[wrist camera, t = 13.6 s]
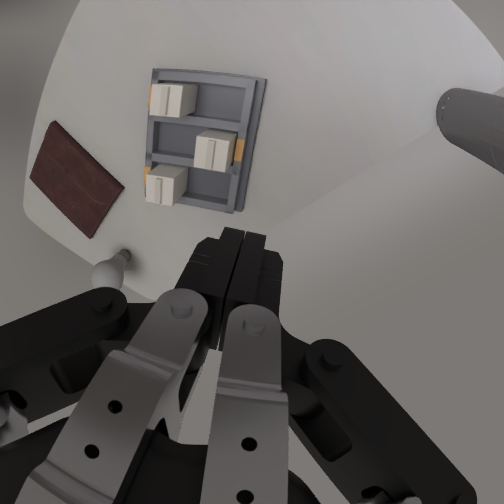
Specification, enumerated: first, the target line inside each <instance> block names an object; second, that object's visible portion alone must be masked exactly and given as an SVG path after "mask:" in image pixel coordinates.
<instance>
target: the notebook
mask: <svg viewBox="0 0 504 504" xmlns="http://www.w3.org/2000/svg"><path fill="white" fill-rule="evenodd" d="M30 179H31V180H32V181H33V182H34V184H35V185H36V186H37V187H38V188H39V189H40V190H41V191H42V192H43V193H44V194H45V195H46V196H47V197H48V198H49V200H50V201H51V202H52V203H53V204H54V205H55V206H56V207H57V208H58V209H59V210H60V211H61V212H62V213H63V214H64V215H65V216H66V217H67V218H68V219H69V220H70V221H71V222H72V223H73V224H74V225H75V226H76V227H77V228H78V229H79V230H81V231H82V232H83V233H84V234H85V235H86V236H87V237H88V238H89V239H91V238H92V237H93V234H94V233H95V231H96V229H97V228H98V226H99V224H100V223H101V221H102V220H103V218H104V216H105V215H106V213H107V212H108V210H109V209H110V207H111V206H112V204H113V203H114V201H115V200H116V198H117V197H118V195H119V194H120V192H121V191H122V189H124V188H125V187H124V186H123V185H122V184H120V183H119V182H118V181H117V180H116V179H115V178H114V177H113V176H112V175H111V174H110V173H109V172H108V171H107V170H106V169H105V168H104V167H102V166H101V165H100V164H99V163H98V162H97V161H96V160H95V159H94V158H93V157H92V156H91V155H90V154H89V153H88V152H87V151H86V150H85V149H84V148H83V147H82V146H81V145H80V144H79V143H78V142H77V141H76V140H75V139H74V138H73V137H72V136H71V135H70V134H69V133H68V132H67V131H66V130H65V129H64V128H63V127H62V126H61V125H60V124H59V123H58V122H57V121H53V122H51V123H50V125H49V127H48V129H47V131H46V134H45V137H44V140H43V143H42V145H41V148H40V150H39V153H38V155H37V158H36V161H35V163H34V166H33V169H32V172H31V175H30Z"/></svg>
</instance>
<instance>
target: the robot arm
mask: <svg viewBox="0 0 504 504" xmlns="http://www.w3.org/2000/svg"><path fill="white" fill-rule="evenodd" d="M437 121H438V125H439V128H440V131H441V132H442V134H443V135H444V137H445V138H446V139H447V140H448V141H449V142H451V143H452V144H454V145H456V146H458V147H460V148H461V149H463V150H465V151H467V152H468V153H470V154H472V155H473V156H475V157H477V158H479V159H480V160H482V161H484V162H485V163H487V164H488V165H490V166H492V167H493V168H495V169H496V170H498V171H499V172H501V173H503V174H504V97H500V96H497V95H492V94H488V93H483V92H478V91H473V90H467V89H461V88H454V89H450V90H449V91H447V92H446V93H445V94H443V96H442V97H441V99H440V101H439V103H438V107H437ZM244 235H245V231H243V230H238V229H234V228H229V227H225V228H224V230H223V232H222V234H221V236H220V239H214V238H210V237H207V238H206V239H204V240H202V241H201V242H199V243H198V244H197V246H196V248H195V250H194V252H193V254H192V255H191V257H190V259H189V262H188V263H187V265H186V267H185V269H184V270H183V272H182V274H181V276H180V278H179V280H178V282H177V284H176V286H175V288H174V289H172V290H169V291H167V292H165V293H163V294H162V295H161V296H160V297H159V298H158V300H157V301H156V302H153V303H127V300H126V297H125V295H124V294H123V293H122V292H121V291H119V290H118V289H115V288H112V287H99V288H95V289H92V290H90V291H87V292H85V293H82V294H80V295H77V296H74V297H72V298H69V299H67V300H64V301H62V302H59V303H57V304H54V305H52V306H49V307H47V308H44V309H42V310H39V311H37V312H34V313H32V314H29V315H27V316H24V317H22V318H19V319H17V320H15V321H12V322H10V323H7V324H5V325H2V326H0V504H321V503H320V502H319V501H318V500H317V498H316V497H315V495H314V494H313V493H312V491H311V490H310V489H309V487H308V486H307V485H306V484H305V483H304V482H303V481H302V480H301V479H300V478H299V477H298V476H297V475H295V474H294V473H293V472H291V471H290V470H288V425H289V426H290V427H291V429H292V430H293V431H294V433H295V434H296V435H297V437H298V438H299V440H300V441H301V442H302V444H303V445H304V446H305V447H306V449H307V450H308V451H309V453H310V454H311V455H312V457H313V458H314V459H315V461H316V462H317V463H318V464H319V466H320V467H321V468H322V470H323V471H324V472H325V473H326V475H327V476H328V477H329V478H330V480H331V481H332V482H333V483H334V485H335V486H336V487H337V488H338V489H339V491H340V492H341V493H342V494H343V495H344V497H345V498H346V499H347V500H348V501H349V503H350V504H477V496H476V492H475V490H474V488H473V487H472V485H471V484H470V483H469V482H468V481H467V480H466V479H465V477H464V476H463V475H462V474H461V473H460V472H459V471H458V470H457V469H456V467H455V466H454V465H453V464H452V463H451V462H450V460H449V459H448V458H447V457H446V456H445V455H444V454H443V453H442V452H441V450H440V449H439V448H438V447H437V446H436V445H435V444H434V443H433V441H432V440H431V439H430V438H429V437H428V436H427V435H426V434H425V432H424V431H423V430H422V429H421V428H420V427H419V426H418V425H417V423H416V422H415V421H414V420H413V419H412V418H411V417H410V416H409V414H408V413H407V412H406V411H405V410H404V409H403V408H402V407H401V406H400V405H399V403H398V402H397V401H396V400H395V399H394V398H393V397H392V396H391V394H390V393H389V392H388V391H387V390H386V389H385V388H384V387H383V386H382V384H381V383H380V382H379V381H378V380H377V379H376V378H375V377H374V376H373V374H372V373H371V372H370V371H369V370H368V369H367V368H366V367H365V366H364V365H363V363H362V362H361V361H360V360H359V359H358V358H357V357H356V356H355V355H354V353H353V352H352V351H351V350H350V349H349V348H348V347H347V346H345V345H344V344H342V343H340V342H338V341H336V340H332V339H321V340H317V341H315V342H313V343H312V344H311V345H310V344H307V343H305V342H303V341H301V340H299V339H297V338H295V337H293V336H292V335H290V334H289V333H288V332H287V331H286V330H285V329H284V328H283V326H282V325H281V323H280V320H279V305H280V294H281V281H282V271H283V261H282V259H281V257H280V255H279V253H278V252H274V251H270V250H265V249H264V246H265V241H266V235H262V234H257V233H253V232H248V231H247V232H246V235H245V238H244ZM219 338H220V342H219V349H218V350H219V351H223V352H222V358H221V364H220V370H219V376H218V382H217V389H216V395H215V402H214V408H213V415H212V421H211V428H210V435H209V441H208V445H188V444H180V443H177V439H178V436H179V433H180V429H181V424H182V420H183V416H184V413H185V411H186V408H187V406H188V403H189V401H190V399H191V396H192V394H193V391H194V389H195V386H196V384H197V381H198V379H199V376H200V374H201V371H202V368H203V363H204V362H205V359H206V356H207V352H208V349H214V350H216V349H217V345H218V341H219ZM75 352H76V353H75ZM78 401H79V402H78ZM76 402H78V403H77V405H76V407H75V408H74V410H73V412H72V414H71V415H70V416H69V417H66V418H63V419H60V420H58V421H56V422H54V423H52V424H50V425H48V426H46V427H44V428H42V429H39V430H38V431H35V432H33V433H31V434H29V435H28V429H27V424H28V423H30V422H32V421H35V420H37V419H40V418H42V417H44V416H46V415H49V414H51V413H54V412H56V411H58V410H60V409H63V408H65V407H67V406H69V405H72V404H74V403H76Z"/></svg>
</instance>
